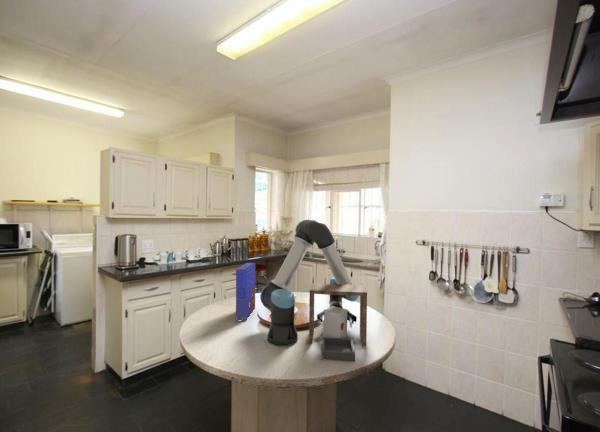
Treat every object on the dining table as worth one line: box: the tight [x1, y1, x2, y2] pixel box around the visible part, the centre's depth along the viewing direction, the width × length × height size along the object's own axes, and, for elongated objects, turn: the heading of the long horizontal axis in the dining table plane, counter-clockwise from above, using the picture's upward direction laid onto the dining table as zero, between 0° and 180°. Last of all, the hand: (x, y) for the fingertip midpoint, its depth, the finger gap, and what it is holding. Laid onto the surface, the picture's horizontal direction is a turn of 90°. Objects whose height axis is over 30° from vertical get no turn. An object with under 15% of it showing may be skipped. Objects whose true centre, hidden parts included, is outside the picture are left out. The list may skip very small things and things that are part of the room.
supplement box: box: [322, 306, 349, 339], centre depth 140 cm, size 9×9×15 cm
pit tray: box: [321, 337, 356, 362], centre depth 127 cm, size 14×14×4 cm
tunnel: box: [308, 282, 368, 347], centre depth 142 cm, size 27×14×26 cm, turn 84°
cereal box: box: [235, 262, 256, 322], centre depth 174 cm, size 22×6×30 cm, turn 175°
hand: (337, 323), depth 139 cm, fingers open, 13 cm apart
